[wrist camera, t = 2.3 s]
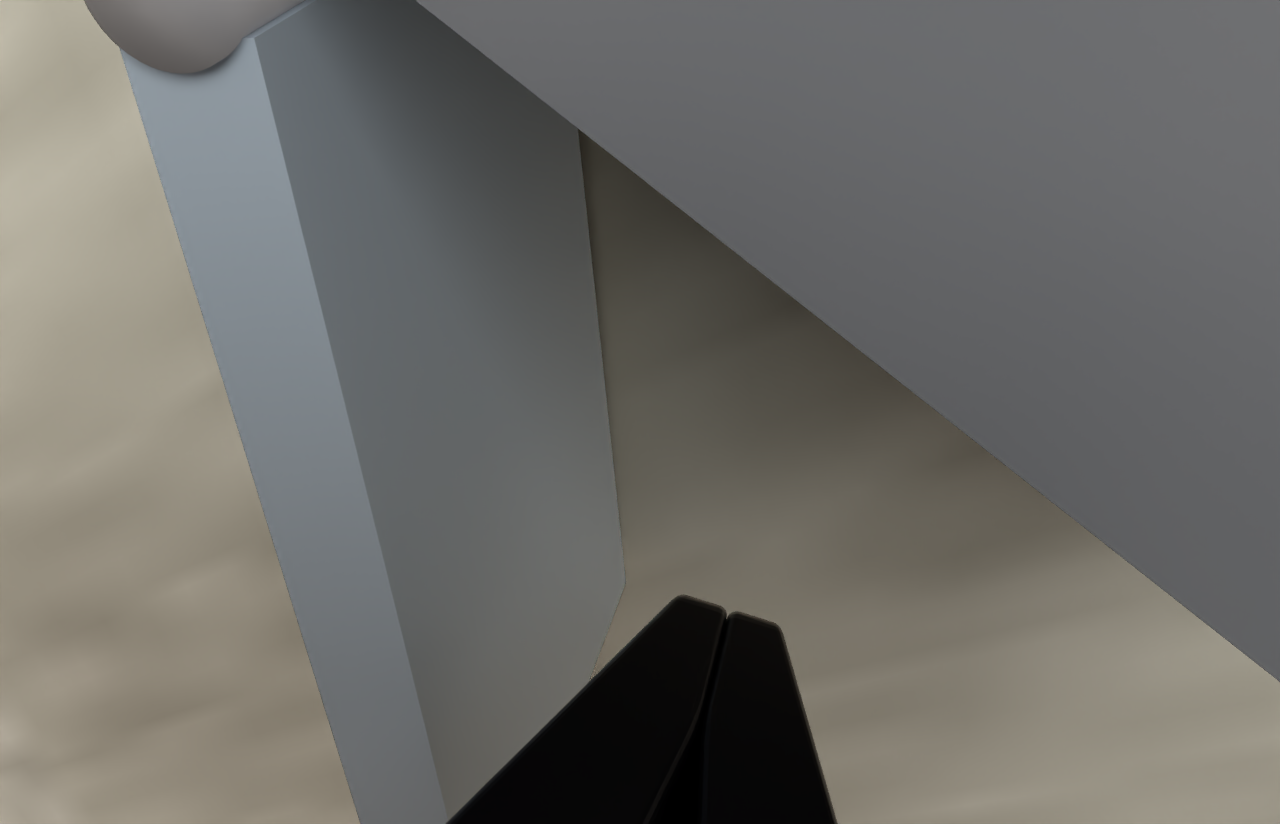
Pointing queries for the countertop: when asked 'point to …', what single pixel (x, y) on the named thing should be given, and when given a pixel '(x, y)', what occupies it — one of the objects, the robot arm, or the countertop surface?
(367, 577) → the side door
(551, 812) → the robot arm
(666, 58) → the grey squat block
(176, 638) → the countertop surface
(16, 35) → the countertop surface
